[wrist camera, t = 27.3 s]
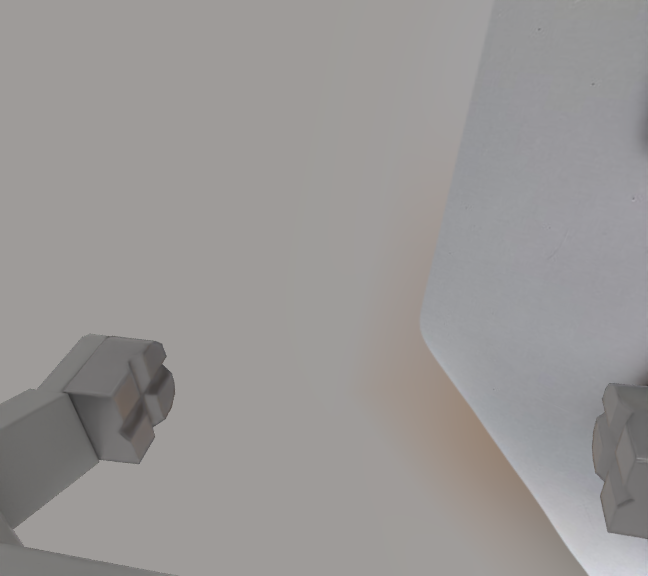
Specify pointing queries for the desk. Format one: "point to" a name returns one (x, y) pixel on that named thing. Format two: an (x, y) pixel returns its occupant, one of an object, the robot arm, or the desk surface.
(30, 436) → the robot arm
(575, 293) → the desk surface
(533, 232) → the desk surface
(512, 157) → the desk surface
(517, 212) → the desk surface
